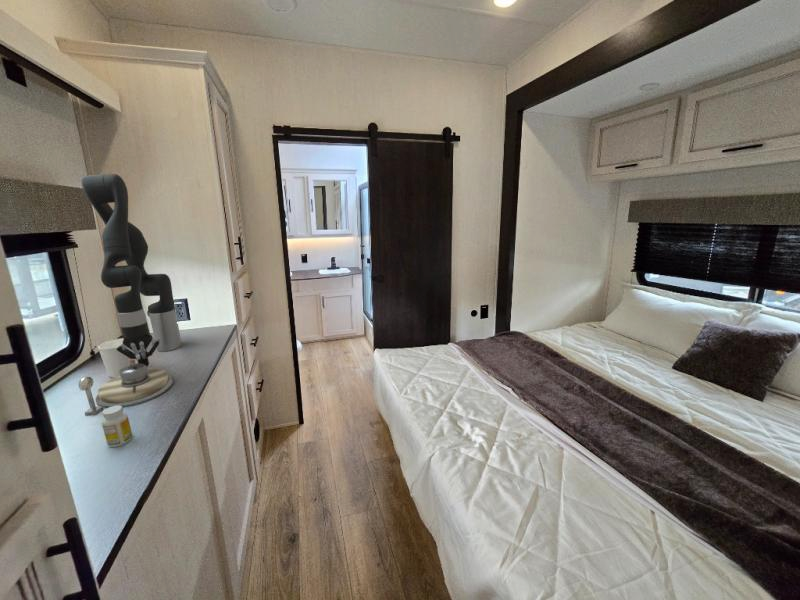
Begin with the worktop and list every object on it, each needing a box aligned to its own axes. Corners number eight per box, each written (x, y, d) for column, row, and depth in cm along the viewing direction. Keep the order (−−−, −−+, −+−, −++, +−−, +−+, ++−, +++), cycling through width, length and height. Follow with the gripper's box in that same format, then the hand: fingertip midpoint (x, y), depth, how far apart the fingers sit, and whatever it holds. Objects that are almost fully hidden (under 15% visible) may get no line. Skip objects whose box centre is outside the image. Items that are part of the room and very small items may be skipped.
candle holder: (120, 379, 124) (112, 349, 121) (98, 377, 126) (90, 347, 123) (144, 367, 133) (138, 339, 130) (124, 365, 135) (117, 337, 132)
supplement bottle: (110, 450, 88) (101, 418, 86) (105, 441, 92) (96, 410, 89) (135, 439, 92) (127, 408, 90) (130, 431, 95) (122, 401, 93)
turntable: (101, 384, 119) (97, 367, 117) (167, 368, 130) (163, 352, 128) (96, 410, 104) (91, 390, 102) (170, 389, 114) (167, 372, 113)
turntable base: (124, 377, 126) (123, 375, 126) (184, 374, 128) (183, 371, 128) (78, 410, 106) (78, 407, 105) (150, 405, 108) (150, 403, 107)
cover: (122, 380, 117) (118, 367, 116) (150, 374, 121) (146, 360, 120) (120, 390, 111) (117, 376, 109) (150, 382, 115) (147, 369, 114)
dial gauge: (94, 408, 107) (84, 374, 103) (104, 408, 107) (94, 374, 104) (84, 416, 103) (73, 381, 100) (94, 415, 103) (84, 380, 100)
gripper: (158, 316, 125) (167, 359, 130) (113, 322, 119) (124, 367, 124) (154, 322, 118) (164, 367, 123) (106, 329, 113) (119, 376, 118)
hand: (144, 367), depth 124 cm, fingers closed
